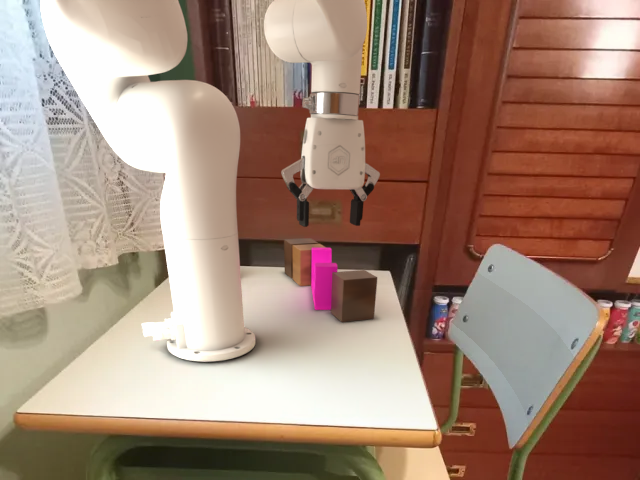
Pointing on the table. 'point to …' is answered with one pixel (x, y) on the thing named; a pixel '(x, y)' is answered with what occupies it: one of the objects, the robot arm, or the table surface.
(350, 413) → the table surface
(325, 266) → the toy block
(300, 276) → the block
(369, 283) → the line block
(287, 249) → the line block
